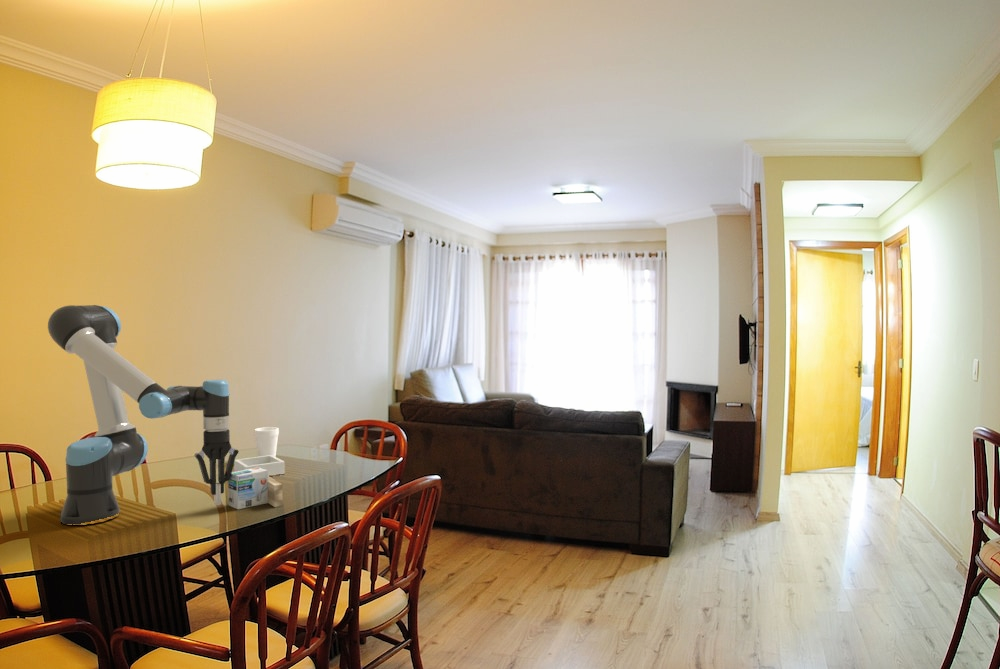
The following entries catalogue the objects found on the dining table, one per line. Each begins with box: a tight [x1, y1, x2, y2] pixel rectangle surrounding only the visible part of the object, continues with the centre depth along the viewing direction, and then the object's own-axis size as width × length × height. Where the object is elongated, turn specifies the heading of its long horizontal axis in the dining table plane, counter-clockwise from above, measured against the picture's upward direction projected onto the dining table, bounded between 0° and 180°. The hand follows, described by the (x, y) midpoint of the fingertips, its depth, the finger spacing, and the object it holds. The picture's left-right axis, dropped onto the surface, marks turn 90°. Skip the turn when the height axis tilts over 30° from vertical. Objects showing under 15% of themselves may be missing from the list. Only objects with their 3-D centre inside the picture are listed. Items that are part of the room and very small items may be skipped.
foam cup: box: [254, 426, 280, 457], centre depth 279 cm, size 10×9×13 cm
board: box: [267, 476, 284, 508], centre depth 222 cm, size 2×20×7 cm, turn 38°
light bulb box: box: [227, 467, 269, 510], centre depth 217 cm, size 11×7×11 cm, turn 138°
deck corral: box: [233, 455, 286, 476], centre depth 256 cm, size 14×14×5 cm
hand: (217, 504), depth 211 cm, fingers closed
